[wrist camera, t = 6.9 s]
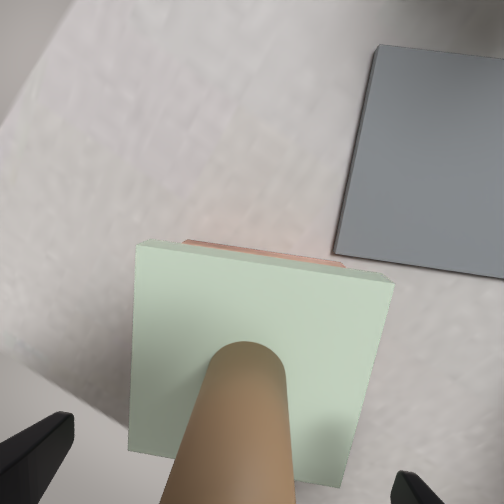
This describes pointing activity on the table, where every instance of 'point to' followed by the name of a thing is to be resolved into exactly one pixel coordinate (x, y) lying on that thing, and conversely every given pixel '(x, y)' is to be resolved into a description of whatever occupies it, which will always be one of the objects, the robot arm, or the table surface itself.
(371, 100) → the mat
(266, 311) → the lid
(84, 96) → the table surface
